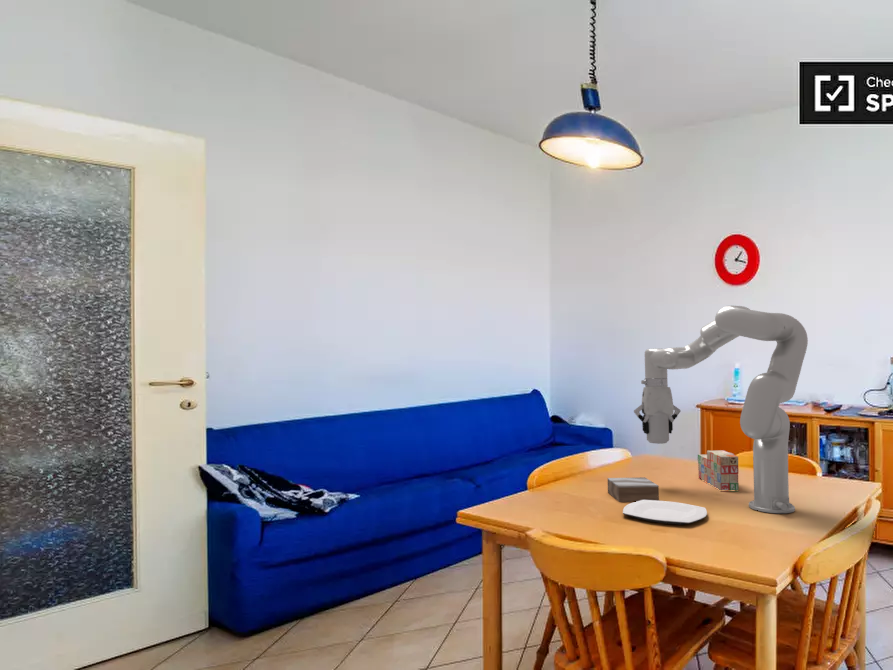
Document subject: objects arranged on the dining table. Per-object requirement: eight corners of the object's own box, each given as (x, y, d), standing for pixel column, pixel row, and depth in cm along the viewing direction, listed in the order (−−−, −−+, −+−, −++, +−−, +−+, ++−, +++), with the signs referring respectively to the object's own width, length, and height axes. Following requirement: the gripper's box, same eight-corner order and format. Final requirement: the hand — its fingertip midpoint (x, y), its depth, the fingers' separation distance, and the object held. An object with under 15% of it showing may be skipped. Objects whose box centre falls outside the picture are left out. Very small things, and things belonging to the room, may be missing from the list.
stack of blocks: (698, 478, 237) (697, 446, 237) (714, 478, 237) (714, 446, 237) (720, 491, 216) (720, 456, 216) (739, 491, 216) (738, 455, 216)
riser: (658, 501, 203) (658, 485, 204) (619, 501, 203) (618, 486, 203) (645, 491, 216) (644, 477, 217) (607, 492, 216) (607, 478, 216)
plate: (638, 503, 202) (638, 497, 202) (714, 513, 189) (714, 507, 189) (613, 519, 184) (613, 513, 184) (695, 532, 170) (695, 525, 170)
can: (644, 441, 226) (643, 407, 226) (665, 440, 225) (664, 407, 226) (650, 444, 218) (649, 409, 218) (672, 443, 218) (671, 409, 218)
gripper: (635, 384, 218) (636, 435, 218) (684, 383, 219) (686, 434, 218) (628, 383, 226) (629, 432, 225) (676, 382, 226) (677, 431, 226)
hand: (657, 432), depth 222 cm, fingers closed on can, 7 cm apart
